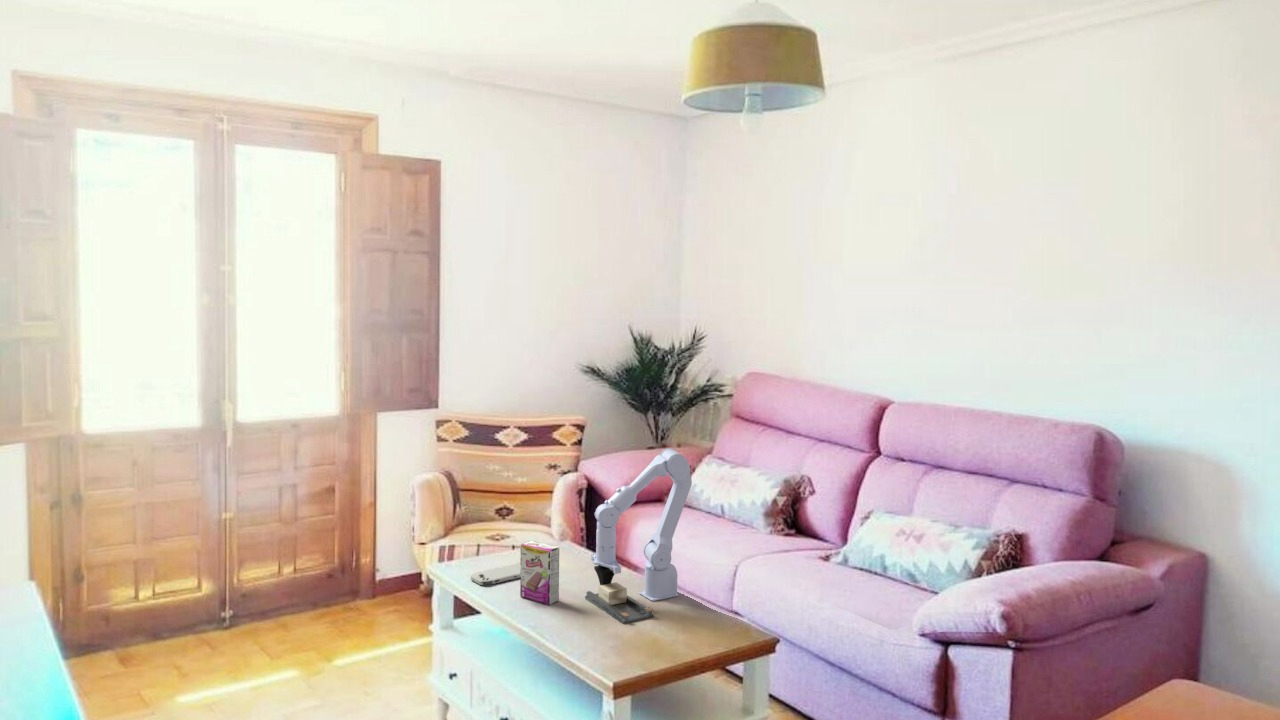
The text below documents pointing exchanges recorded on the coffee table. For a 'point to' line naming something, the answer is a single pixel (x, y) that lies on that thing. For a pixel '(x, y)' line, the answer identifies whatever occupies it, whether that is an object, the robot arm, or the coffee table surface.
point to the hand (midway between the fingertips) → (605, 590)
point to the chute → (621, 609)
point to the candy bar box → (539, 572)
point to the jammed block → (613, 593)
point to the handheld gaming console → (497, 575)
